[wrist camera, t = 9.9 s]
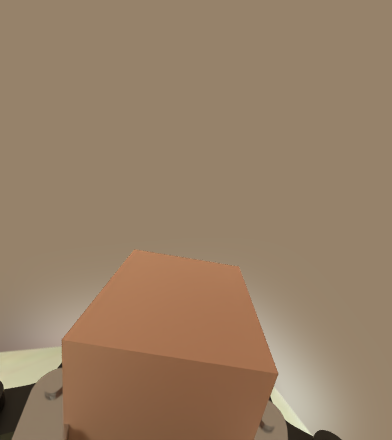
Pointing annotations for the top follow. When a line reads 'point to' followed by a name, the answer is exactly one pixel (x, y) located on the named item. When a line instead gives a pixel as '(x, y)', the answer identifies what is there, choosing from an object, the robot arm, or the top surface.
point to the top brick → (167, 355)
